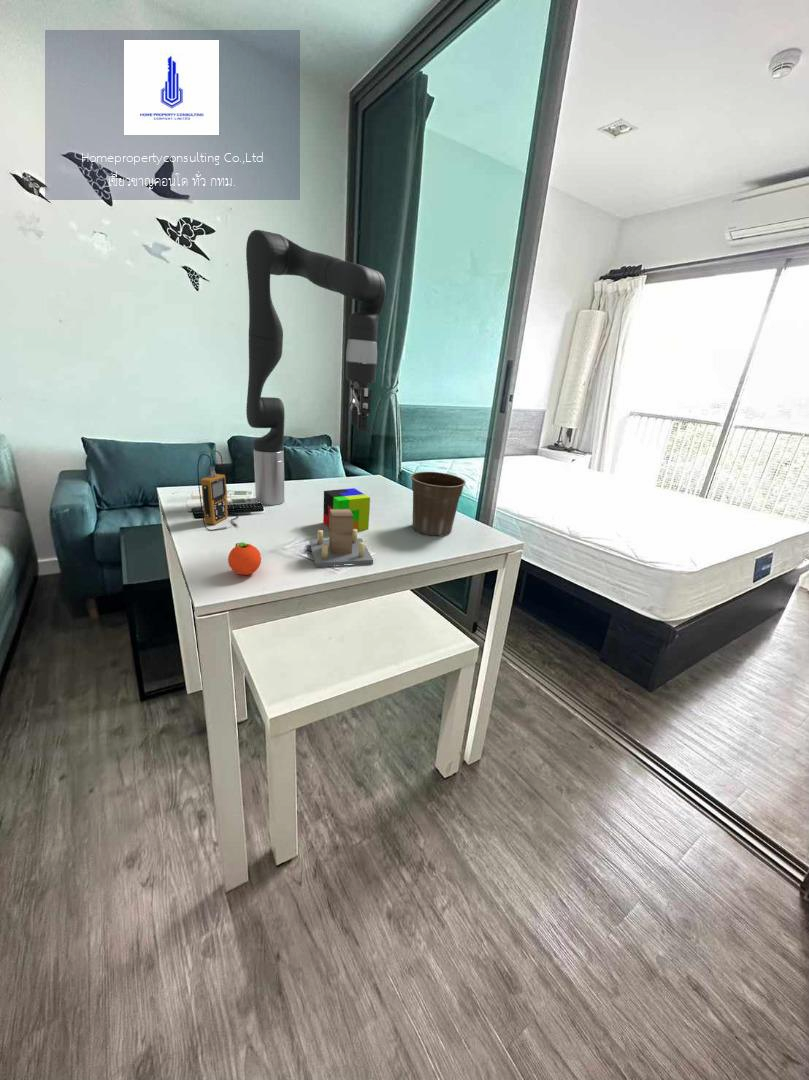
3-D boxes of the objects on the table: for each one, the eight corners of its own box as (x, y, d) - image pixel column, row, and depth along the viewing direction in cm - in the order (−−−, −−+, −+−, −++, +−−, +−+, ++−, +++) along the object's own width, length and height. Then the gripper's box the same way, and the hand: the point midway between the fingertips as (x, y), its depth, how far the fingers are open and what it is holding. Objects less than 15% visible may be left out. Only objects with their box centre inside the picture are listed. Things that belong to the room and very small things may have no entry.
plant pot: (469, 535, 132) (477, 483, 126) (425, 542, 124) (431, 487, 118) (438, 518, 145) (444, 470, 139) (396, 523, 137) (400, 473, 131)
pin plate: (309, 544, 116) (309, 527, 114) (361, 542, 120) (362, 526, 118) (315, 567, 103) (315, 549, 102) (372, 564, 108) (374, 546, 106)
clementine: (221, 569, 98) (219, 540, 96) (250, 562, 103) (249, 534, 100) (237, 583, 93) (235, 553, 91) (267, 575, 98) (266, 545, 95)
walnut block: (329, 546, 113) (329, 509, 109) (348, 545, 114) (349, 509, 110) (331, 554, 108) (332, 516, 105) (351, 553, 110) (353, 515, 106)
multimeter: (229, 534, 118) (224, 460, 110) (196, 528, 119) (188, 455, 112) (257, 517, 131) (254, 451, 124) (227, 512, 133) (222, 446, 125)
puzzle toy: (353, 518, 137) (354, 488, 133) (368, 529, 130) (370, 497, 126) (323, 522, 132) (323, 490, 128) (337, 534, 124) (338, 500, 121)
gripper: (341, 358, 113) (339, 423, 119) (352, 360, 100) (349, 432, 106) (369, 361, 115) (366, 424, 121) (383, 363, 103) (379, 433, 109)
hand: (358, 427), depth 114 cm, fingers open, 8 cm apart
